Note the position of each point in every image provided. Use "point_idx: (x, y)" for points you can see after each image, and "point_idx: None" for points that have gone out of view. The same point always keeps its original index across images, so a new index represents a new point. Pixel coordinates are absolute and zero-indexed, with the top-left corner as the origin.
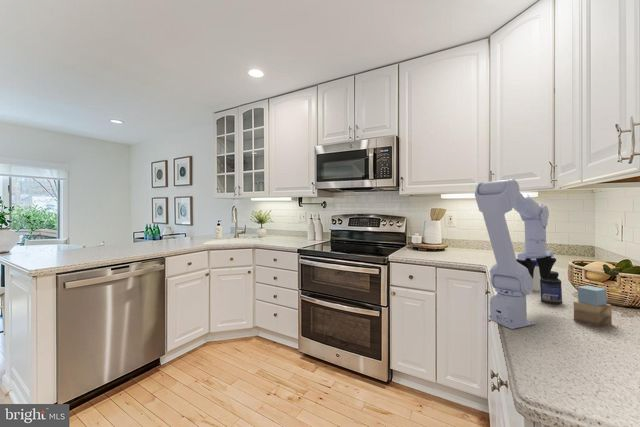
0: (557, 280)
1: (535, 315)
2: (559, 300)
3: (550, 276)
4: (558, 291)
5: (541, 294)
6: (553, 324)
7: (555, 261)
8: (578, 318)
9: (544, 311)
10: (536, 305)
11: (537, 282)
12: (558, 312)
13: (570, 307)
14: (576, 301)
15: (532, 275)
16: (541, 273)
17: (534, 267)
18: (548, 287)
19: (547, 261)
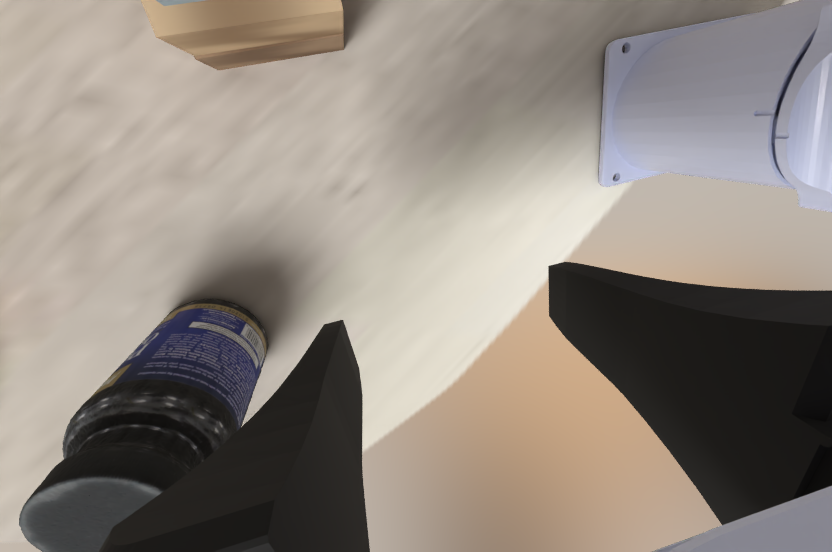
0: (122, 408)
1: (481, 166)
2: (195, 307)
3: (162, 452)
4: (172, 340)
5: (258, 374)
6: (515, 20)
7: (143, 511)
8: None
9: (386, 210)
10: (348, 297)
11: None
12: (324, 182)
13: (178, 243)
14: (315, 3)
15: (607, 275)
16: (358, 396)
17: (699, 306)
18: (226, 376)
19: (324, 518)
